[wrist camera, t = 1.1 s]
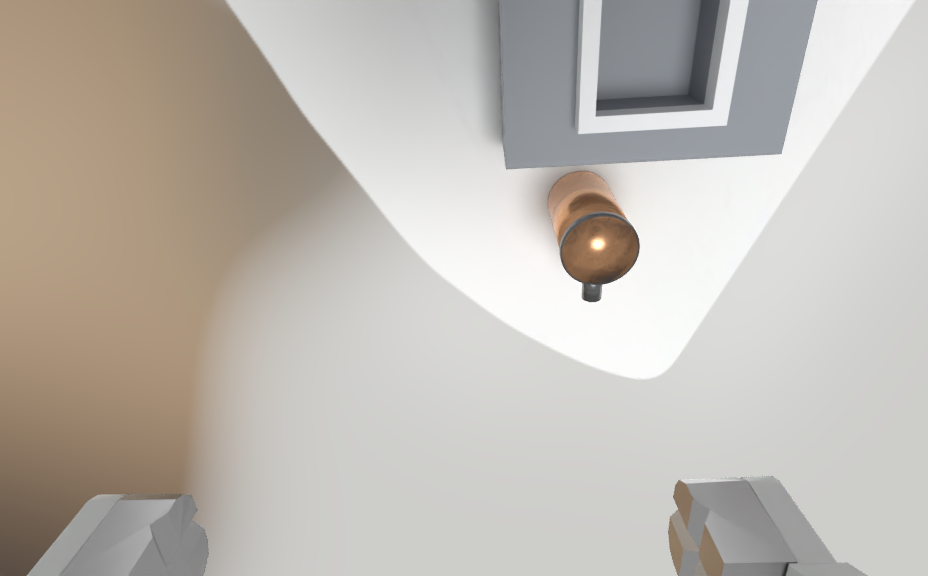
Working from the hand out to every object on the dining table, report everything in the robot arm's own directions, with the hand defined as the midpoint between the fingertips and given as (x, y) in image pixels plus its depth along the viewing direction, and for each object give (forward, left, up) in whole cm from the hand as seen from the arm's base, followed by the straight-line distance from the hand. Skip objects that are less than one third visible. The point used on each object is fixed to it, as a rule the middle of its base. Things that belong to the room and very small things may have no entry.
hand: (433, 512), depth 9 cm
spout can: (+10, +8, -36) cm, 38 cm away
